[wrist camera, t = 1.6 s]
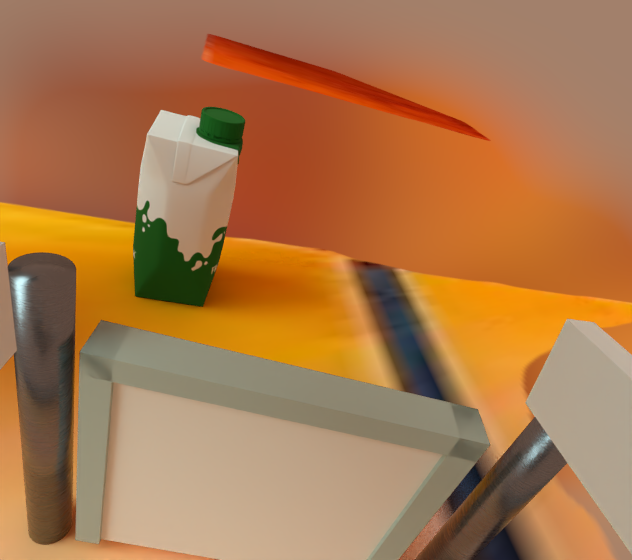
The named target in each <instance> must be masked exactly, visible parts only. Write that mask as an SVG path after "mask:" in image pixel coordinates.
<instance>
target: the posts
mask: <svg viewBox="0 0 632 560" xmlns="http://www.w3.org/2000/svg"><path fill="white" fill-rule="evenodd" d="M8 275H9V284H10V293H11V302H12V311H13V320H14V329H15V338H16V347H17V351H16V352H15V353H14V361H15V374H16V386H17V398H18V410H19V422H20V434H21V446H22V458H23V470H24V482H25V494H26V507H27V519H28V531H29V536H30V538H31V539H32V540H33V541H34V542H36V543H38V544H51V543H54V542H56V541H58V540H60V539H61V538H63V537H64V536H65V535H66V534H67V533H68V531H69V530H70V528H71V525H72V500H73V433H74V367H75V301H76V267H75V265H74V263H73V262H72V261H71V260H69V259H68V258H66V257H63V256H61V255H57V254H53V253H31V254H26V255H23V256H20V257H18V258H16V259H14V260H13V261H12V262H11V263H10V264H9V265H8ZM566 464H567V462H566V460H565V459H564V457H563V456H562V454H561V453H560V452H559V450H558V449H557V447H556V446H555V444H554V443H553V442H552V440H551V439H550V437H549V436H548V434H547V433H546V432H545V430H544V429H543V427H542V426H541V424H540V423H539V422H538V420H537V419H536V417H534V419H533V420H532V421H531V422H530V423H529V425H528V426H527V427H526V428H525V429H524V430H523V432H522V433H521V434H520V435H519V436H518V438H517V439H516V440H515V441H514V442H513V444H512V445H511V446H510V447H509V448H508V450H507V451H506V452H505V453H504V454H503V455H502V457H501V458H500V459H499V460H498V461H497V463H496V464H495V465H494V466H493V467H492V469H491V470H490V471H489V472H488V473H487V475H486V476H485V477H484V478H483V479H482V480H481V482H480V483H479V484H478V485H477V486H476V488H475V489H474V490H473V491H472V492H471V494H470V495H469V496H468V497H467V498H466V499H465V501H464V502H463V503H462V504H461V505H460V507H459V508H458V509H457V510H456V511H455V513H454V514H453V515H452V516H451V517H450V519H449V520H448V521H447V522H446V523H445V524H444V526H443V527H442V528H441V529H440V530H439V532H438V533H437V534H436V535H435V536H434V538H433V539H432V540H431V541H430V542H429V544H428V545H427V546H426V547H425V548H424V549H423V551H422V552H421V553H420V554H419V555H418V557H417V558H416V559H415V560H473V559H474V558H475V557H476V556H477V555H478V554H479V553H480V552H481V551H482V550H483V549H484V548H485V547H486V546H487V544H488V543H489V542H490V541H491V540H492V539H493V538H494V537H495V536H496V535H497V534H498V533H499V532H500V531H501V530H502V529H503V528H504V527H505V526H506V525H507V524H508V523H509V522H510V521H511V520H512V519H513V518H514V517H515V516H516V515H517V514H518V513H519V512H520V511H521V510H522V509H523V508H524V507H525V506H526V505H527V504H528V503H529V502H530V501H531V500H532V499H533V498H534V496H535V495H536V494H537V493H538V492H539V491H540V490H541V489H542V488H543V487H544V486H545V485H546V484H547V483H548V482H549V481H550V480H551V479H552V478H553V477H554V476H555V475H556V474H557V473H558V472H559V471H560V470H561V469H562V468H563V467H564V466H565V465H566Z"/></svg>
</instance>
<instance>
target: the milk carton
mask: <svg viewBox="0 0 632 560" xmlns="http://www.w3.org/2000/svg"><path fill="white" fill-rule="evenodd" d="M244 124H245V119H244V118H243V117H242V116H241V115H239V114H237V113H235V112H232V111H229V110H226V109H222V108H217V107H205V108H203V109H202V113H201V119H199V118H197V117H194V116H190V115H188V116H182V115H179V114H175V113H171V112H167V111H163V110H161V111H160V113H159V115H158V116H157V118H156V120H155V122H154V124H153V126H152V127H151V129H150V130H149V132H148V134H147V139H146V144H145V149H144V153H143V158H142V163H141V169H140V178H139V189H138V200H137V210H136V222H135V232H134V244H133V256H134V279H135V296H137V297H143V298H150V299H156V300H162V301H169V302H175V303H182V304H188V305H195V306H201V307H203V304H204V302H205V299H206V296H207V293H208V291H209V288H210V285H211V282H212V280H213V277H214V274H215V271H216V269H217V266H218V262H219V259H220V255H221V251H222V247H223V243H224V238H225V233H226V229H227V224H228V220H229V215H230V210H231V206H232V201H233V196H234V189H235V182H236V172H237V164H238V163H239V155H240V153H241V150H242V144H243V141H242V135H243V130H244Z"/></svg>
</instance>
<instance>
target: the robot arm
mask: <svg viewBox="0 0 632 560" xmlns="http://www.w3.org/2000/svg"><path fill="white" fill-rule="evenodd" d="M16 351H17V347H16V338H15V329H14V320H13V311H12V302H11V293H10V284H9V275H8V266H7V257H6V248H5V242H0V369H1V368H2V367H3V366H4V365H5V363H6V362H7V361H8V360H9V359H10V358H11V357H12V355H13V354H14V353H15V352H16ZM525 403H526V404H527V406H528V407H529V409H530V410H531V412H532V413H533V414H534V416H535V417H536V419H537V420H538V422H539V423H540V424H541V426H542V427H543V429H544V430H545V432H546V433H547V434H548V436H549V437H550V439H551V440H552V442H553V443H554V444H555V446H556V447H557V449H558V450H559V452H560V453H561V454H562V456H563V457H564V459H565V460H566V462H567V463H568V464H569V466H570V467H571V469H572V470H573V472H574V473H575V474H576V476H577V477H578V479H579V480H580V481H581V483H582V484H583V486H584V487H585V489H586V490H587V492H588V493H589V494H590V496H591V497H592V499H593V500H594V502H595V503H596V504H597V506H598V507H599V508H600V510H601V512H602V513H603V514H604V516H605V517H606V519H607V520H608V521H609V523H610V524H611V526H612V527H613V529H614V530H615V532H616V533H617V534H618V536H619V537H620V538H621V540H622V541H623V543H624V544H625V546H626V547H627V549H628V550H629V551H630V553H631V554H632V355H631V354H630V353H629V352H628V351H626V350H625V349H624V348H623V347H622V346H621V345H619V344H618V343H617V342H616V341H615V340H614V339H613V338H611V337H610V336H609V335H608V334H607V333H606V332H604V331H603V330H602V329H601V328H600V327H599V326H598V325H596V324H595V323H594V322H586V321H579V320H572V319H567V320H566V322H565V324H564V326H563V328H562V330H561V332H560V334H559V336H558V338H557V340H556V342H555V344H554V346H553V348H552V350H551V352H550V354H549V356H548V359H547V361H546V362H545V364H544V367H543V369H542V370H541V372H540V375H539V376H538V379H537V381H536V382H535V385H534V387H533V388H532V390H531V392H530V394H529V396H528V398H527V400H526V402H525Z"/></svg>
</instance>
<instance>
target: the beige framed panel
mask: <svg viewBox="0 0 632 560" xmlns="http://www.w3.org/2000/svg"><path fill="white" fill-rule="evenodd" d="M489 446H490V443H489V440H488V437H487V434H486V431H485V428H484V425H483V423H482V420H481V417H480V414H479V411H478V409H474V408H470V407H466V406H462V405H457V404H453V403H449V402H445V401H441V400H436V399H432V398H428V397H424V396H419V395H415V394H411V393H407V392H403V391H398V390H394V389H390V388H386V387H381V386H377V385H373V384H369V383H365V382H360V381H356V380H352V379H348V378H343V377H339V376H335V375H331V374H327V373H322V372H318V371H314V370H310V369H305V368H301V367H297V366H293V365H289V364H284V363H280V362H276V361H272V360H267V359H263V358H259V357H255V356H251V355H246V354H242V353H238V352H234V351H230V350H225V349H221V348H217V347H213V346H208V345H204V344H200V343H196V342H192V341H187V340H183V339H179V338H175V337H170V336H166V335H162V334H158V333H154V332H149V331H145V330H141V329H137V328H132V327H128V326H124V325H120V324H116V323H111V322H107V321H103V320H101V321H100V323H99V324H98V326H97V327H96V329H95V330H94V332H93V333H92V335H91V336H90V338H89V339H88V341H87V342H86V344H85V345H84V346H83V348H82V349H81V351H80V363H79V406H78V449H77V493H76V536H75V540H78V541H84V542H90V543H96V544H99V543H100V540H101V539H103V540H109V541H115V542H121V543H126V544H132V545H138V546H144V547H149V548H155V549H161V550H167V551H173V552H178V553H184V554H190V555H196V556H202V557H207V558H213V559H219V560H398V559H399V558H400V557H401V556H402V554H403V553H404V552H405V551H406V549H407V548H408V547H409V546H410V544H411V543H412V542H413V541H414V539H415V538H416V537H417V536H418V534H419V533H420V532H421V531H422V529H423V528H424V527H425V526H426V524H427V523H428V522H429V521H430V519H431V518H432V517H433V516H434V514H435V513H436V512H437V511H438V510H439V508H440V507H441V506H442V505H443V503H444V502H445V501H446V500H447V498H448V497H449V496H450V495H451V493H452V492H453V491H454V490H455V488H456V487H457V486H458V485H459V483H460V482H461V481H462V480H463V478H464V477H465V476H466V475H467V473H468V472H469V471H470V470H471V468H472V467H473V466H474V465H475V463H476V462H477V461H478V460H479V458H480V457H481V456H482V455H483V453H484V452H485V451H486V450H487V448H488V447H489Z"/></svg>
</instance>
